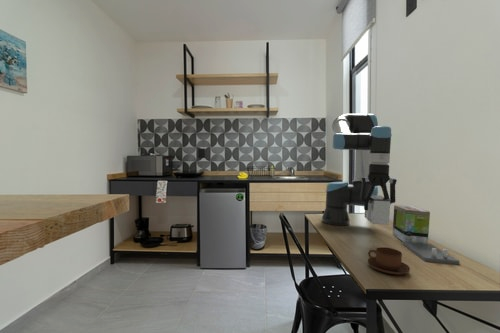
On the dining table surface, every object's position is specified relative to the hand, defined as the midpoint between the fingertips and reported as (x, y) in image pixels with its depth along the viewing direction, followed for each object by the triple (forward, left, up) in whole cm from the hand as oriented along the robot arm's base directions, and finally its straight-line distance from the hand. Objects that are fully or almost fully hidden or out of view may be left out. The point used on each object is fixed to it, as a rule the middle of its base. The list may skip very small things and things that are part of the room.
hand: (376, 218), depth 109 cm
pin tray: (+5, +18, -11) cm, 22 cm away
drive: (0, 0, -1) cm, 1 cm away
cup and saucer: (+26, -4, -12) cm, 29 cm away
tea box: (-14, +19, -11) cm, 26 cm away
